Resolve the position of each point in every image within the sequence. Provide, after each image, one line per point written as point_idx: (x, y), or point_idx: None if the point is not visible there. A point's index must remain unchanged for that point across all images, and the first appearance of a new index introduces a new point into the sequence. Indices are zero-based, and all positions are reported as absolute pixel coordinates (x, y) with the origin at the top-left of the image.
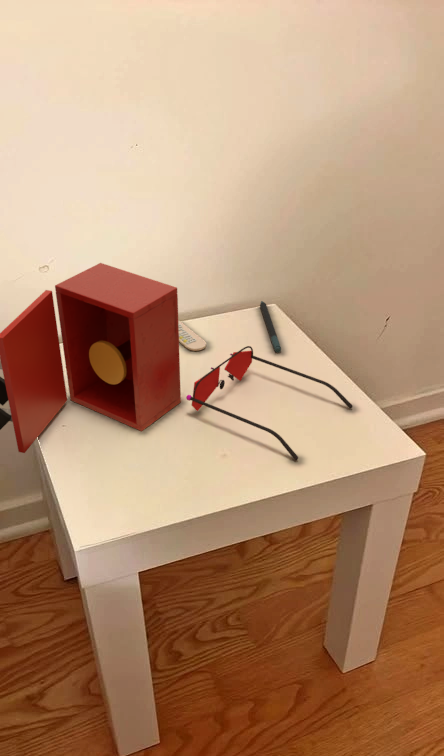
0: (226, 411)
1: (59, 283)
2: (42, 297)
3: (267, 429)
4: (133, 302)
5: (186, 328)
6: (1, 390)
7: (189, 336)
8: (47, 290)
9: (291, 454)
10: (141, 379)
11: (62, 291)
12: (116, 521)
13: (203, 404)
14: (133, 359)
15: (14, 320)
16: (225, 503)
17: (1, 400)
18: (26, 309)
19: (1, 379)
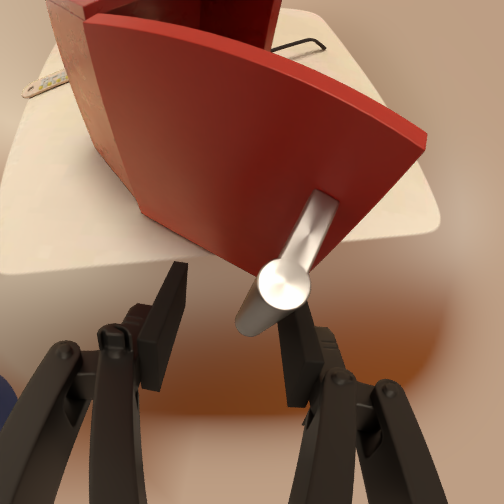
0: (272, 49)
1: (79, 3)
2: (126, 20)
3: (308, 39)
4: None
5: (53, 74)
6: (182, 293)
7: None
8: (88, 19)
9: (324, 47)
10: None
11: (112, 3)
12: (416, 191)
13: None
14: (269, 37)
15: (290, 73)
16: (383, 104)
17: (183, 304)
18: (201, 41)
19: (172, 282)
